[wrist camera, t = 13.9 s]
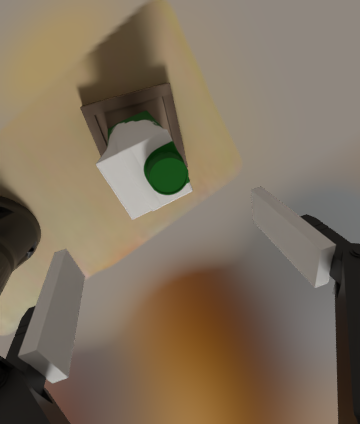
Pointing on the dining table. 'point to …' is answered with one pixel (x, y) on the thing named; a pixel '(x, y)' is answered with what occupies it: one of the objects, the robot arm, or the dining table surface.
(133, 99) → the walnut tray
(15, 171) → the dining table surface
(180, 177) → the soya milk
